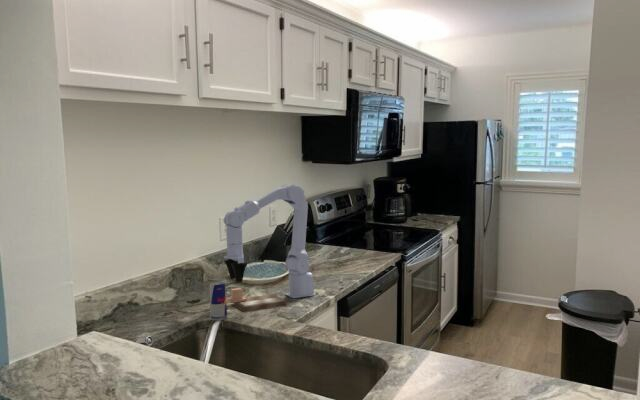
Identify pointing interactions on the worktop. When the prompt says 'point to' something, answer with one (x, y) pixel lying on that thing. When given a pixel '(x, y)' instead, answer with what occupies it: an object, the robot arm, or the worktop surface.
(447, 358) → the worktop surface
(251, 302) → the board
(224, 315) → the energy drink
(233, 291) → the peach plate with block
